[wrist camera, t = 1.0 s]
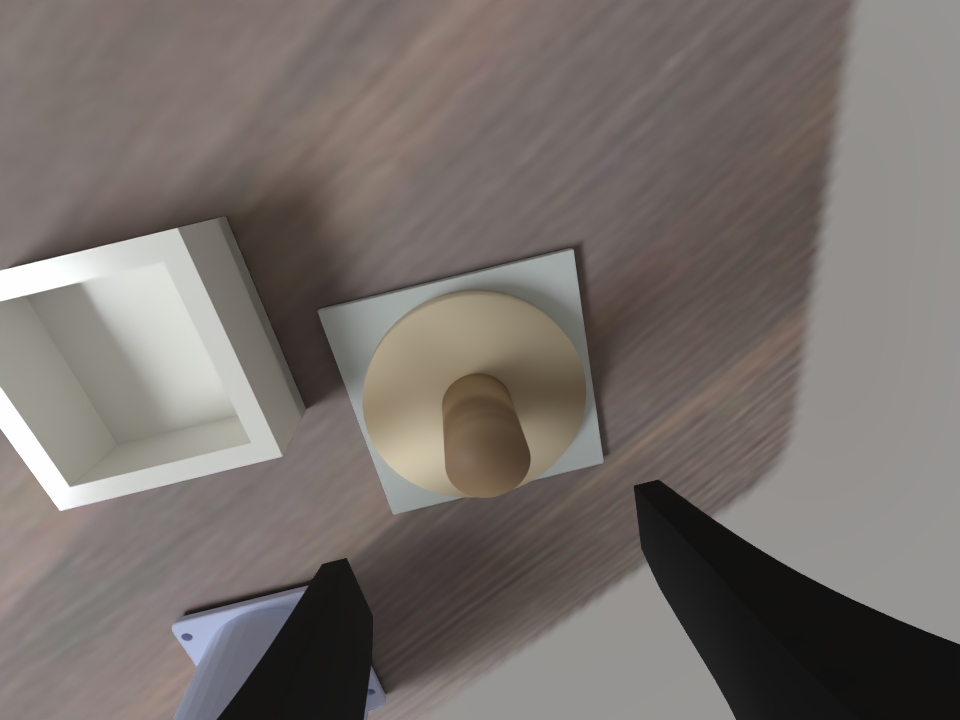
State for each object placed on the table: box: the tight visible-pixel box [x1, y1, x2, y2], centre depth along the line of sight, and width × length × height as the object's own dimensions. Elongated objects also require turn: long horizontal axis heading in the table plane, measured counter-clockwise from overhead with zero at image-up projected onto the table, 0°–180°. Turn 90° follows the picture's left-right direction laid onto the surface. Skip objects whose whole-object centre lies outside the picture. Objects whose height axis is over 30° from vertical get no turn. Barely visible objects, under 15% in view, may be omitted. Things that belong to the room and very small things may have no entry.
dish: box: [0, 216, 306, 511], centre depth 17 cm, size 8×8×4 cm
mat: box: [318, 248, 604, 515], centre depth 20 cm, size 10×10×1 cm
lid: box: [362, 290, 586, 498], centre depth 18 cm, size 9×9×5 cm
